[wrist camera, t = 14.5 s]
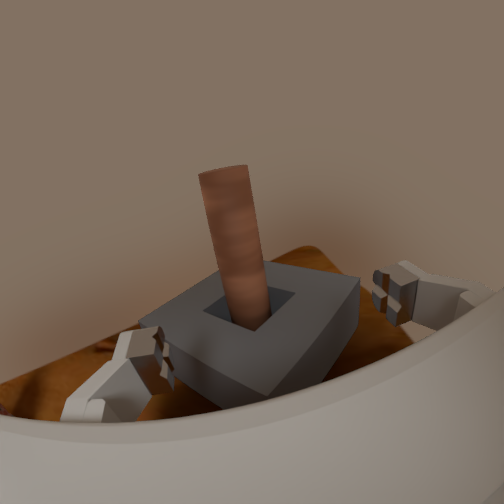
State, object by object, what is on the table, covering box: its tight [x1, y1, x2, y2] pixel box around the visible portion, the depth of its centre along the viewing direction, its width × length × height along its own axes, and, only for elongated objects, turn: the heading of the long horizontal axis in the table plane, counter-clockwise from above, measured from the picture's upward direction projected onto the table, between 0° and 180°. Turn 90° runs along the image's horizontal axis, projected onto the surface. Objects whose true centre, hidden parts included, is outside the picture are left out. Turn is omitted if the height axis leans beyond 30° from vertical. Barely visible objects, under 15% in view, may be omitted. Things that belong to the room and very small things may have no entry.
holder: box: [138, 261, 360, 410], centre depth 22 cm, size 13×13×5 cm
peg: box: [198, 165, 272, 332], centre depth 20 cm, size 3×3×14 cm
